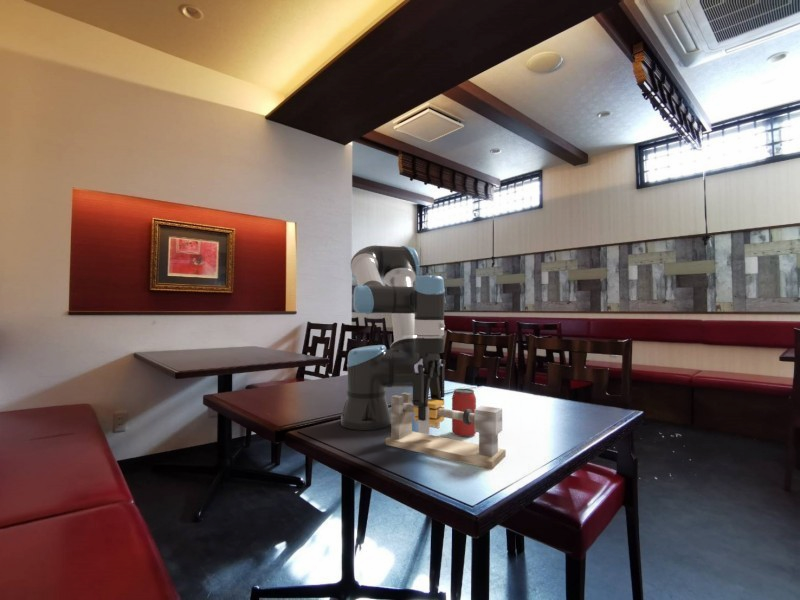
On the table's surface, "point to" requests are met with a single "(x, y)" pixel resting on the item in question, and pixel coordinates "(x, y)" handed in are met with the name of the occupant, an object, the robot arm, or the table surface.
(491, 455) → the rod stand with block
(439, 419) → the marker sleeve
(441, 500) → the table surface
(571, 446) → the table surface
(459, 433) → the beer can
